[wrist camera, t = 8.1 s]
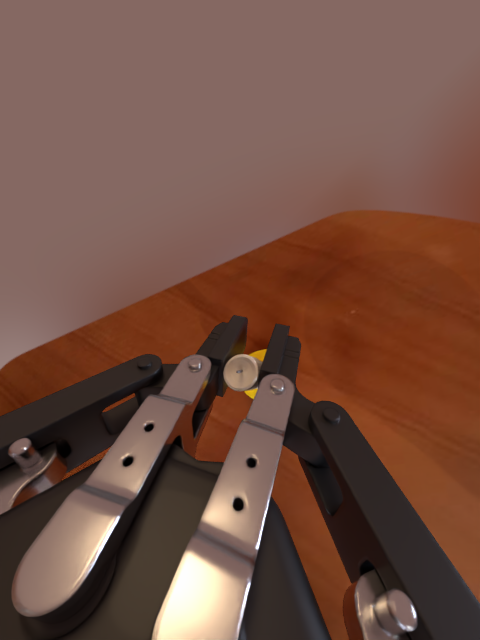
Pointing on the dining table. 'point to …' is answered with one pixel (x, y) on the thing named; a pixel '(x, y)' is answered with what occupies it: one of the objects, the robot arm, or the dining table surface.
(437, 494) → the dining table surface
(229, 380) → the candle
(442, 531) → the dining table surface
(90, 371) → the dining table surface
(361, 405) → the dining table surface
